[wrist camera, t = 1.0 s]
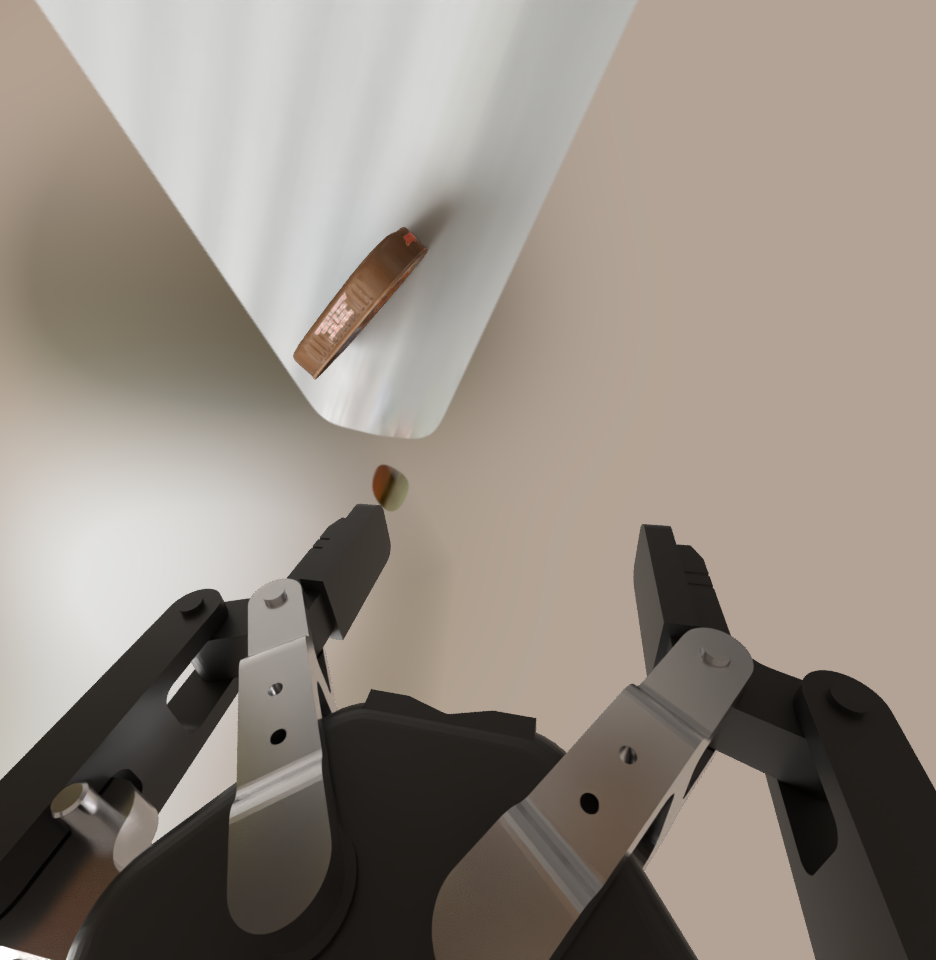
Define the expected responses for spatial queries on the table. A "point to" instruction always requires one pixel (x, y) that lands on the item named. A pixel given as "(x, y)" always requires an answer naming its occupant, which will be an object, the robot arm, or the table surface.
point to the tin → (359, 300)
